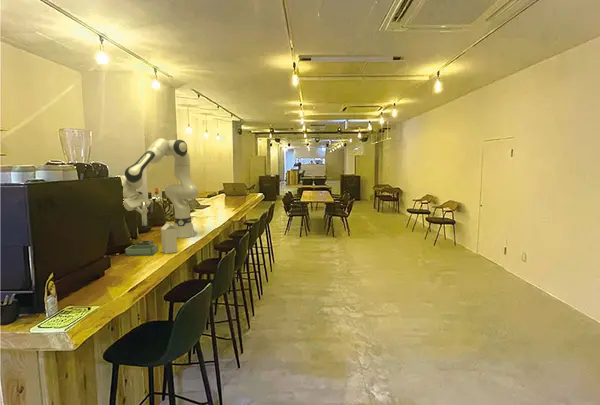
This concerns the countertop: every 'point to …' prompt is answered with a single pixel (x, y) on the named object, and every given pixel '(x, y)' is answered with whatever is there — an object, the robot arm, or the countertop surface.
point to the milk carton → (169, 238)
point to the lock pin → (144, 214)
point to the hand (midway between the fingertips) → (145, 212)
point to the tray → (141, 250)
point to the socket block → (145, 243)
